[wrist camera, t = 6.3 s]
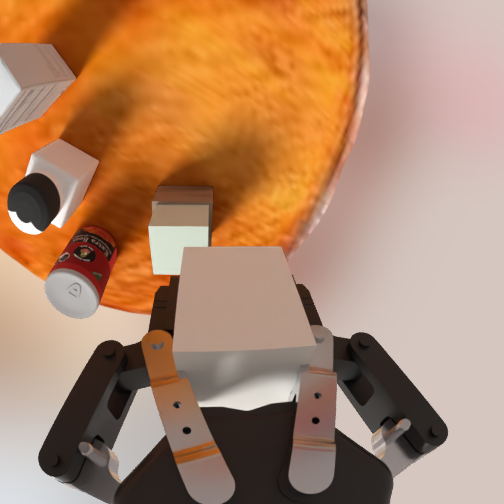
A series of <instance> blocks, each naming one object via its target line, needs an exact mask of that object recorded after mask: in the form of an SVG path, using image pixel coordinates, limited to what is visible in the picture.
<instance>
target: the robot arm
mask: <svg viewBox="0 0 504 504" xmlns="http://www.w3.org/2000/svg"><path fill="white" fill-rule="evenodd" d="M292 277H293V275H292ZM179 279H180V276H171V278H170V285H169V286H160V288H159V289H158V290H157V292H156V293H155V298H154V303H153V309H152V314H151V319H150V325H149V331H148V333H147V334H146V335H145V336H144V337H143V338H142V341H140V342H138V343H136V344H132V345H128V346H123V345H122V344H120V343H119V342H117V341H114V340H109V341H105V342H102V343H101V344H100V345H98V347H97V348H96V350H95V351H94V353H93V355H92V356H91V358H90V359H89V361H88V363H87V364H86V366H85V368H84V369H83V371H82V373H81V375H80V376H79V378H78V380H77V381H76V383H75V385H74V387H73V389H72V390H71V392H70V394H69V396H68V398H67V399H66V401H65V403H64V405H63V407H62V408H61V410H60V412H59V414H58V416H57V418H56V420H55V422H54V424H53V425H52V427H51V429H50V431H49V433H48V435H47V438H46V439H45V441H44V444H43V446H42V448H41V450H40V452H39V456H38V461H39V465H40V467H41V469H42V470H43V471H44V472H45V473H46V474H48V475H49V476H51V477H53V478H55V479H56V480H58V481H59V482H61V483H63V484H65V485H67V486H69V487H71V488H74V489H77V490H79V491H82V492H86V493H88V494H90V495H92V496H93V497H96V498H97V499H100V500H102V501H104V502H106V503H108V504H390V498H391V494H392V489H393V478H394V477H395V476H396V475H398V474H399V473H400V472H402V471H403V470H404V469H406V468H407V467H408V466H410V465H411V464H412V463H414V462H416V461H417V460H419V459H420V458H422V457H423V456H425V455H427V454H428V453H430V452H431V451H433V450H434V449H436V448H437V447H439V446H440V445H441V444H443V443H444V442H445V441H446V439H447V436H448V429H447V426H446V424H445V423H444V421H443V420H442V419H441V418H440V416H439V415H438V414H437V413H436V411H435V410H434V409H433V408H432V407H431V405H430V404H429V403H428V401H426V399H425V398H424V397H423V395H422V394H421V393H420V392H419V390H418V389H417V388H416V387H415V386H414V384H413V383H412V382H411V381H410V380H409V379H408V377H407V376H406V375H405V374H404V373H403V371H402V370H401V369H400V368H399V366H398V365H397V364H396V363H395V362H394V361H393V359H392V358H391V357H390V356H389V355H388V354H387V352H386V351H385V350H384V349H383V348H382V346H381V345H380V344H379V343H378V342H377V341H376V340H375V338H373V337H372V336H371V335H369V334H367V333H362V332H359V333H356V334H354V335H353V336H352V337H351V339H347V338H341V337H336V336H333V335H332V333H331V331H330V330H328V329H327V328H325V327H323V325H322V322H321V320H320V317H319V315H318V312H317V310H316V307H315V305H314V302H313V300H312V298H311V295H310V292H309V290H308V289H307V288H306V287H305V286H304V285H303V284H296V283H295V280H294V277H293V280H294V283H295V285H296V288H297V291H298V294H299V296H300V299H301V302H302V305H303V308H304V310H305V313H306V316H307V319H308V322H309V324H310V327H311V330H312V333H313V336H314V339H315V342H316V344H317V346H316V348H315V351H314V354H313V356H312V359H311V362H310V364H305V365H300V367H299V370H298V374H297V379H296V382H295V385H294V388H293V390H292V391H291V392H290V394H289V398H288V402H280V403H271V404H268V405H265V406H262V407H259V408H256V409H252V410H249V411H245V410H239V409H233V408H227V407H199V405H198V402H197V400H196V397H195V395H194V392H193V390H192V387H191V385H190V382H189V380H188V377H187V375H186V373H184V371H178V370H176V366H175V361H174V357H173V352H172V349H173V337H174V326H175V315H176V306H177V297H178V288H179ZM337 384H338V385H339V387H340V388H341V389H342V391H343V392H344V394H345V395H346V396H347V398H348V399H349V401H350V402H351V404H352V405H353V406H354V408H355V409H356V411H357V412H358V414H359V415H360V416H361V418H362V419H363V421H364V422H365V423H366V425H367V426H368V428H369V429H370V430H371V432H372V433H373V436H372V440H371V441H372V449H373V450H374V451H375V456H374V455H373V454H371V453H370V452H368V451H367V450H366V449H364V448H363V447H361V446H360V445H358V444H357V443H356V442H354V441H353V440H351V439H350V438H349V437H347V436H346V435H344V434H343V433H342V432H341V431H339V430H338V429H337V428H335V418H336V417H335V416H336V392H337ZM149 386H151V388H152V391H153V395H154V398H155V402H156V405H157V408H158V411H159V414H160V418H161V421H162V424H163V426H164V430H165V433H166V435H165V436H164V437H163V438H162V439H161V441H160V442H159V443H158V444H157V445H156V446H155V447H154V448H153V449H152V451H151V452H150V453H149V454H148V455H147V456H146V457H145V458H144V459H143V460H142V461H141V462H140V464H139V465H138V466H137V467H136V468H135V469H134V470H133V471H132V472H131V473H130V474H129V475H128V476H127V477H126V478H125V479H124V480H123V481H122V482H121V481H120V479H119V477H118V466H119V462H118V458H117V456H116V455H115V453H114V452H113V451H112V448H113V446H114V443H115V441H116V439H117V436H118V434H119V432H120V429H121V427H122V425H123V422H124V420H125V417H126V415H127V413H128V411H129V408H130V406H131V404H132V402H133V399H134V397H135V395H136V393H137V390H138V389H141V388H145V387H149Z"/></svg>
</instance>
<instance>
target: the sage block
mask: <svg viewBox="0 0 504 504" xmlns="http://www.w3.org/2000/svg"><path fill="white" fill-rule="evenodd" d="M208 223H209V205H156V207H155V209H154V212H153V215H152V217H151V220H150V223H149V226H148V228H149V238H150V248H151V257H152V265H153V272H154V274H172V275H180V271H181V264H182V256H183V249H184V247H208Z"/></svg>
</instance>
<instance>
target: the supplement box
mask: <svg viewBox="0 0 504 504" xmlns="http://www.w3.org/2000/svg"><path fill="white" fill-rule="evenodd" d="M75 80H76V77H75V75H74V74H73V73H72V71H71V70H70V68H69V67H68V66H67V64H66V63H65V62H64V60H63V59H62V58H61V56H60V55H59V54H58V52H57V51H56V49H55V48H54V47H53V45H52V44H36V43H0V134H3V133H5V132H7V131H9V130H11V129H13V128H16V127H18V126H20V125H23V124H25V123H27V122H30V121H32V120H35V119H38V118H40V117H42V116H43V114H44V113H45V112H46V111H47V110H48V109H49V107H50V106H51V105H52V104H53V103H54V102H55V101H56V100H57V99H58V97H59V96H60V95H61V94H62V93H63V92H64V91H65V90H66V89H67V88H68V87H69V86H70V85H71V84H72V83H73V82H74V81H75Z"/></svg>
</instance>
